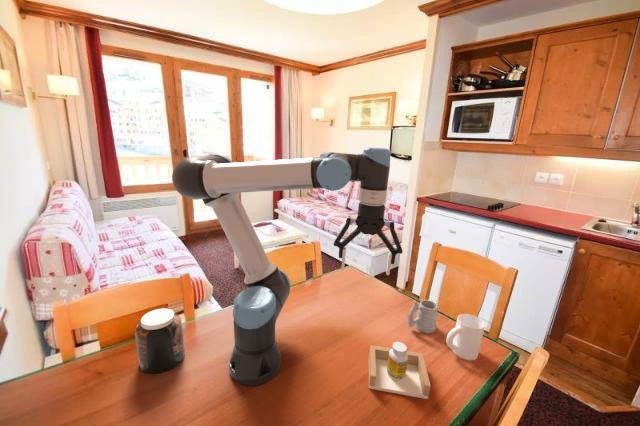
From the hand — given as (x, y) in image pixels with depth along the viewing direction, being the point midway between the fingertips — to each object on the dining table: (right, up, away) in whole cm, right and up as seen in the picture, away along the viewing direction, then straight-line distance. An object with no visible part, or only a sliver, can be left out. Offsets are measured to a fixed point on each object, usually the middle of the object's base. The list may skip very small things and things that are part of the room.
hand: (365, 270), depth 87 cm
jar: (-62, -27, -1) cm, 67 cm away
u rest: (+9, -31, -3) cm, 32 cm away
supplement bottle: (+9, -30, -3) cm, 32 cm away
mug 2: (+33, -29, +8) cm, 45 cm away
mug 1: (+24, -26, +20) cm, 40 cm away
